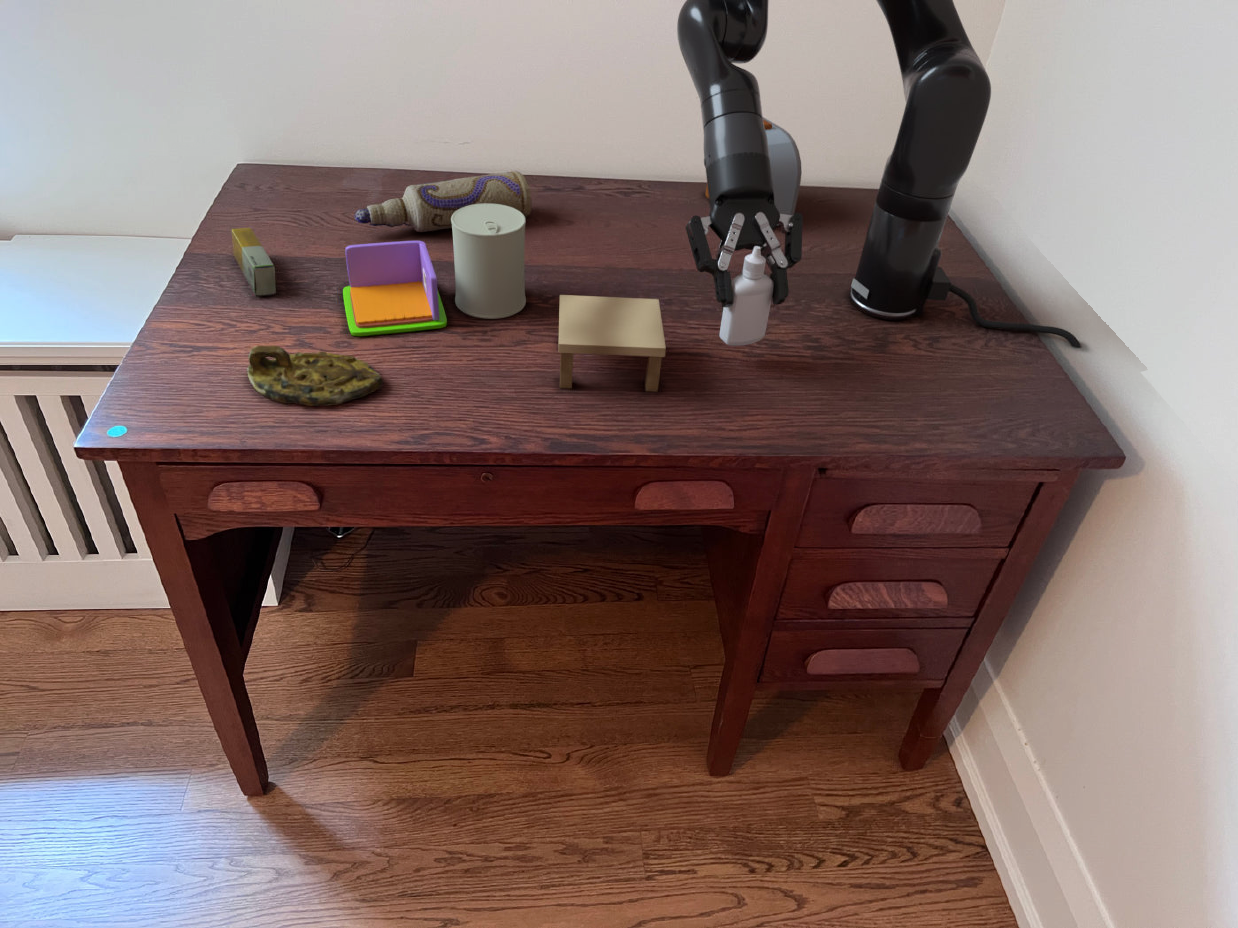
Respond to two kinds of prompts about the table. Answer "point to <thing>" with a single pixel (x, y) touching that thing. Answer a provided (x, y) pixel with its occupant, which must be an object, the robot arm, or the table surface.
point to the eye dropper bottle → (748, 303)
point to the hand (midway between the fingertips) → (753, 303)
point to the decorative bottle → (448, 201)
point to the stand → (610, 332)
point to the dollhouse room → (391, 289)
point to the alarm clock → (782, 167)
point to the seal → (310, 376)
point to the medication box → (254, 262)
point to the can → (489, 260)
